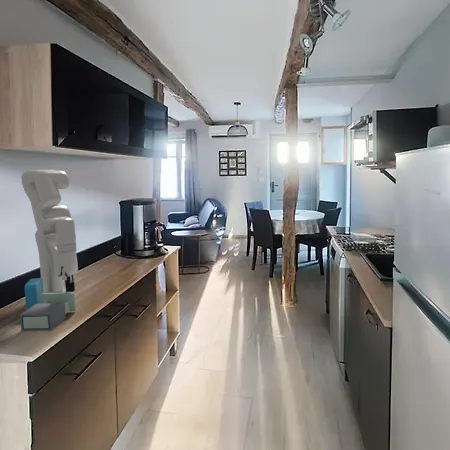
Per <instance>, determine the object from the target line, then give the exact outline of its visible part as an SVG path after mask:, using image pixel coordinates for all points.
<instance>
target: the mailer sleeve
mask: <svg viewBox="0 0 450 450" xmlns="http://www.w3.org/2000/svg"><path fill="white" fill-rule="evenodd" d="M66 315H67V313H66V312H65V303H41V304H35V305H34V306H32V307H31V308H29V309H28V310H26V309H25V311H23V312H21V314H19V319H20V328H21V329H20V330H21V331H24V332H25V331H28V332H30V331H32V332H34V331H40V332H41V331H53V330H54V329H55V328H56V327H57V326H59V324H61V323H62V322H64V320H66V319H67V316H66ZM24 316H49V326H50V328H28V329H24V324H23V317H24Z"/></svg>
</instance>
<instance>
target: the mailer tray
mask: <svg viewBox="0 0 450 450" xmlns="http://www.w3.org/2000/svg"><path fill="white" fill-rule="evenodd" d="M42 303H65V312H66V314H68V313H69V312H75V311H76V307H77V306H76V297H75V292H66V293H42ZM23 324H24V329H28V328H50V326H49V316H24V317H23Z"/></svg>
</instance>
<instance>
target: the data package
mask: <svg viewBox="0 0 450 450" xmlns="http://www.w3.org/2000/svg"><path fill="white" fill-rule="evenodd" d="M24 284H25V285H24V296H25V297H24V298H25V308H26V309H25V311H26V310H28V309H29V308H31V307H32V306H34V305H35V304H41V303H42V293H44V290H43V280H42V278H41V277H38V278H37V277H36V278H30V279H29V280H28V281H27V282H26V283H24Z"/></svg>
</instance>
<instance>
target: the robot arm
mask: <svg viewBox="0 0 450 450" xmlns="http://www.w3.org/2000/svg"><path fill="white" fill-rule="evenodd" d="M20 179H22V181H21V186H22V185H23V186H22V188H24V189H23V190H24V192H25V195H26V196H27V198H28V199H29V201H30V205H31V209H32V214H33V218H34V222H35V223H34V224H35V227H36V231H35V233H34V238H35V243H36V246H37V251H38V258H39V268H40V270H39V271H40V278H42V280H43V290H44V293H74V291H75V292H76V288H75V287H76V285H75V276H76V275H77V272H78V271H79V266H78V265H79V264H78V256H77V251H78V250H77V241H76V240H77V234H76V230H75V229H76V226H75V220H74V218H73V217H72V215H71V211H70V209H69V208H68V206H66V205H62V204H61V205H59V204H60V203H61V202H62V196H61V193H60V190H66V189H67V188H69V186H70V178H69V175H68V174H67V173H66V172H65V171H63V170H61V169H29V170H25V171H23V172H22V174H21V177H20Z"/></svg>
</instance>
